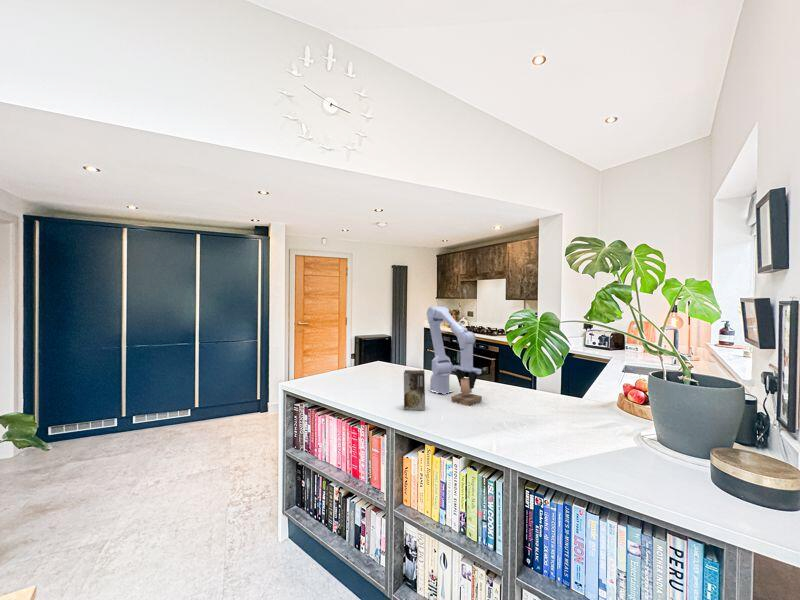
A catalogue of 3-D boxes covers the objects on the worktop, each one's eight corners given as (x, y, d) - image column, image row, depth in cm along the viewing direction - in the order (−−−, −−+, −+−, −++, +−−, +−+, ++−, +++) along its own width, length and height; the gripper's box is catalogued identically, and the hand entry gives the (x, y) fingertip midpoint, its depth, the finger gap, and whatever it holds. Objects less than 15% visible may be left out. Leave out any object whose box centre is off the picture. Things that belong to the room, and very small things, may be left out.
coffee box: (425, 406, 158) (425, 370, 157) (424, 410, 151) (424, 373, 151) (404, 405, 158) (404, 369, 158) (403, 410, 152) (403, 372, 152)
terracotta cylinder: (458, 391, 164) (458, 378, 164) (465, 389, 168) (465, 377, 167) (467, 393, 160) (467, 380, 160) (473, 391, 164) (473, 378, 164)
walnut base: (451, 401, 164) (451, 396, 164) (463, 397, 171) (463, 392, 171) (469, 406, 157) (469, 400, 157) (481, 401, 164) (481, 396, 164)
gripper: (448, 357, 166) (448, 386, 166) (475, 361, 156) (475, 391, 156) (457, 355, 171) (457, 383, 171) (483, 359, 161) (483, 388, 161)
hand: (466, 387), depth 164 cm, fingers closed on terracotta cylinder, 5 cm apart
